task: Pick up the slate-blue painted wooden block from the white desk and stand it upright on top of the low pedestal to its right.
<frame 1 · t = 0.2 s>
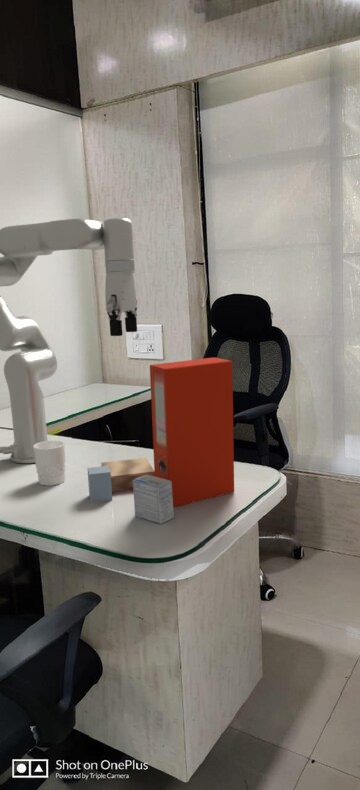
hand: (124, 333, 162), 37 cm above the table, tool pointing down, fingers open, 9 cm apart
medicine box: (154, 518, 134), on the table
pedestal: (128, 481, 157), on the table
white cup: (52, 482, 160), on the table
file binder: (195, 496, 146), on the table
block: (100, 497, 147), on the table
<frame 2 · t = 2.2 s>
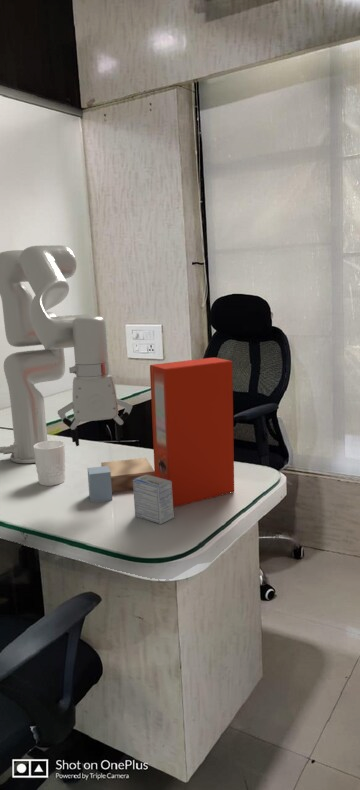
hand: (97, 442, 144), 14 cm above the table, tool pointing down, fingers open, 9 cm apart
nothing on the table moved.
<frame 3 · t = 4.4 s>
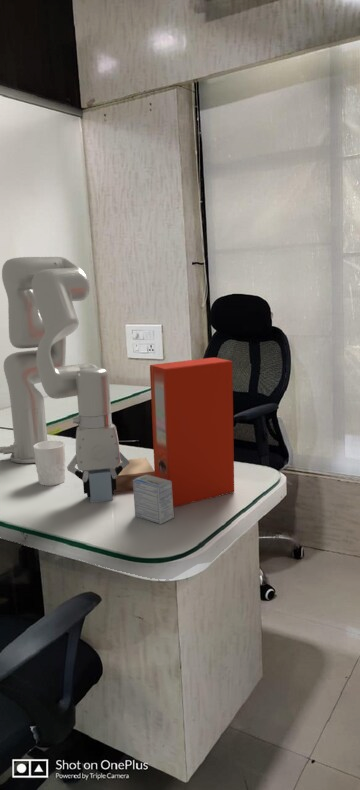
hand: (100, 493, 146), 1 cm above the table, tool pointing down, fingers closed on block, 5 cm apart
block: (100, 497, 147), on the table, touching gripper
everything else where it was.
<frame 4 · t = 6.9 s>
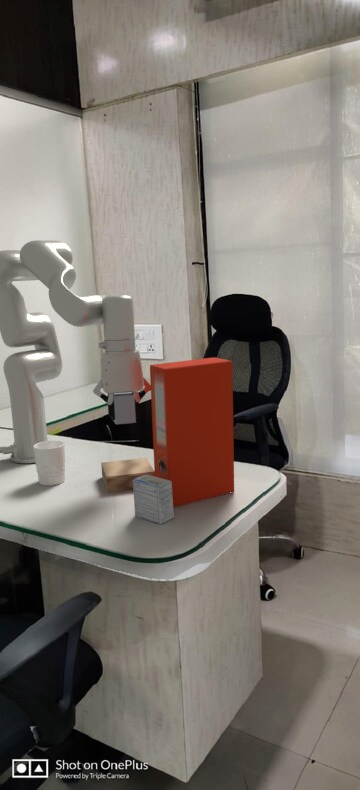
hand: (124, 417, 154), 17 cm above the table, tool pointing down, fingers closed on block, 5 cm apart
block: (124, 421, 154), point 16 cm above the table, touching gripper
everything else where it was.
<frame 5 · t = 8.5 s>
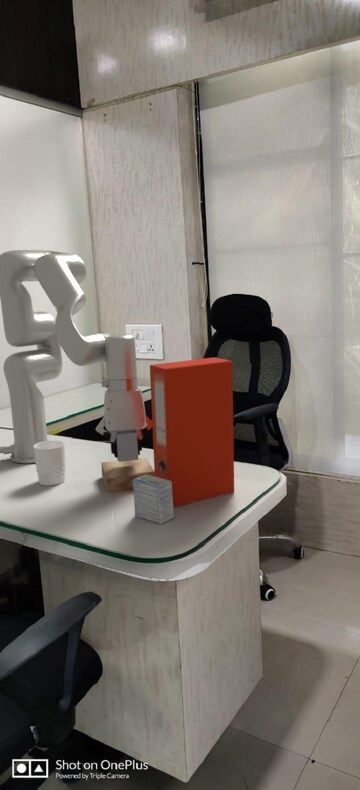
hand: (126, 454, 155), 7 cm above the table, tool pointing down, fingers closed on block, 5 cm apart
block: (127, 458, 155), point 6 cm above the table, touching gripper
everything else where it was.
when the fingers open (6 cm above the table, at t = 9.6 s): block drops 1 cm, resting on pedestal.
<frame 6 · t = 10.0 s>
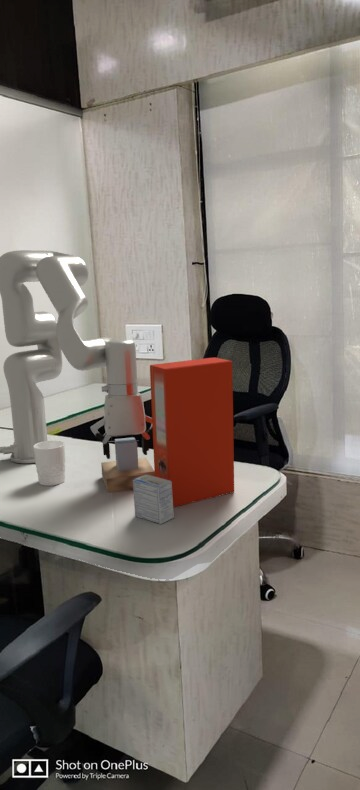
hand: (126, 455, 156), 7 cm above the table, tool pointing down, fingers open, 9 cm apart
block: (127, 467, 156), point 4 cm above the table, touching pedestal
everything else where it was.
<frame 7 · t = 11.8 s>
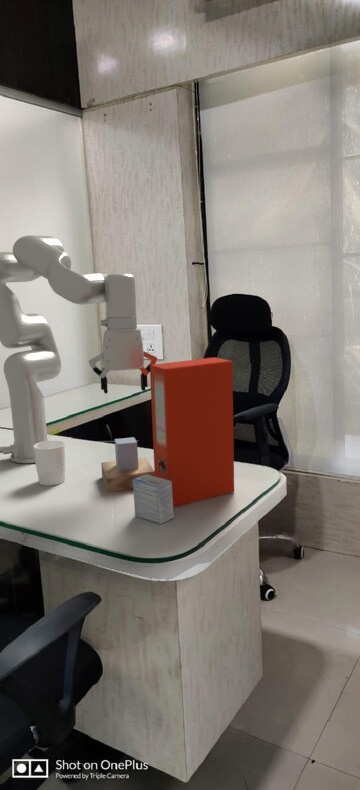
hand: (124, 391, 156), 23 cm above the table, tool pointing down, fingers open, 9 cm apart
nothing on the table moved.
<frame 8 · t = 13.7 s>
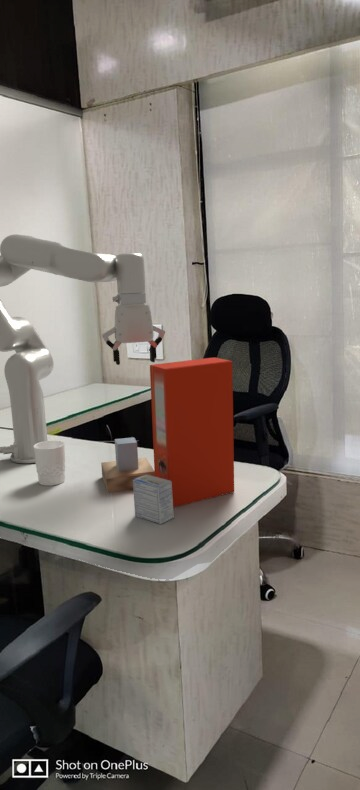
hand: (135, 362, 168), 28 cm above the table, tool pointing down, fingers open, 9 cm apart
nothing on the table moved.
at the end: block inside the target area on the pedestal (0.2 cm from its centre), point 4.0 cm above the pedestal's base; block touching pedestal; block tilted 0° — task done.
